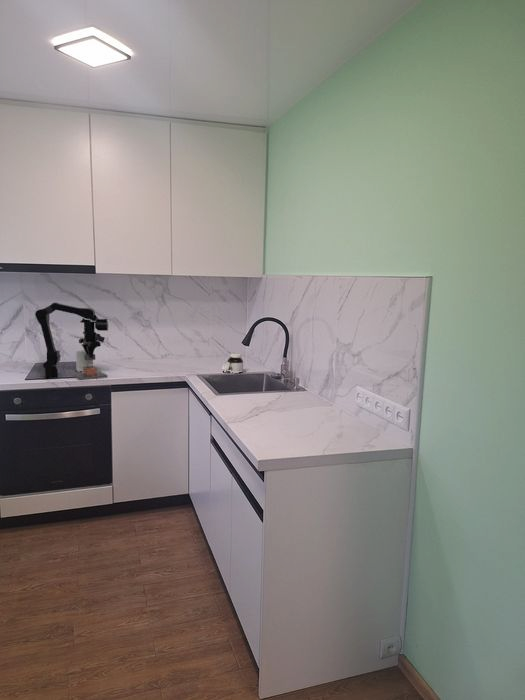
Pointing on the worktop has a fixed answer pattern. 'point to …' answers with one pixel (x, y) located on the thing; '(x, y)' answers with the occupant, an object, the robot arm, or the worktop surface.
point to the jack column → (89, 360)
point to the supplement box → (80, 360)
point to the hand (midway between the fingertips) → (89, 357)
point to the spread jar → (233, 363)
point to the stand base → (89, 374)
